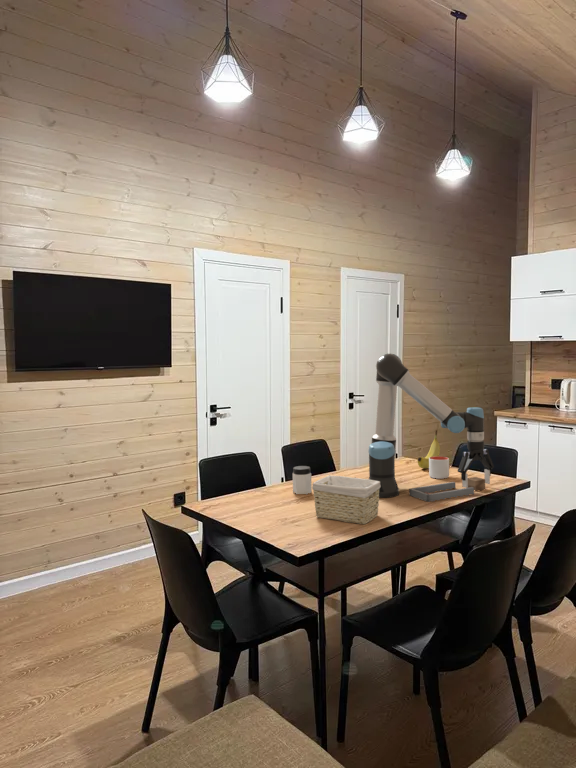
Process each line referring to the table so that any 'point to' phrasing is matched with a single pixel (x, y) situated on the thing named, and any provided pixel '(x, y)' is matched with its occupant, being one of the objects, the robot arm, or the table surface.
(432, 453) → the banana
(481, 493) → the table surface
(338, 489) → the storage basket
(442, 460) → the cup
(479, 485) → the walnut block
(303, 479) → the jar
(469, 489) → the trough
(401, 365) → the robot arm
